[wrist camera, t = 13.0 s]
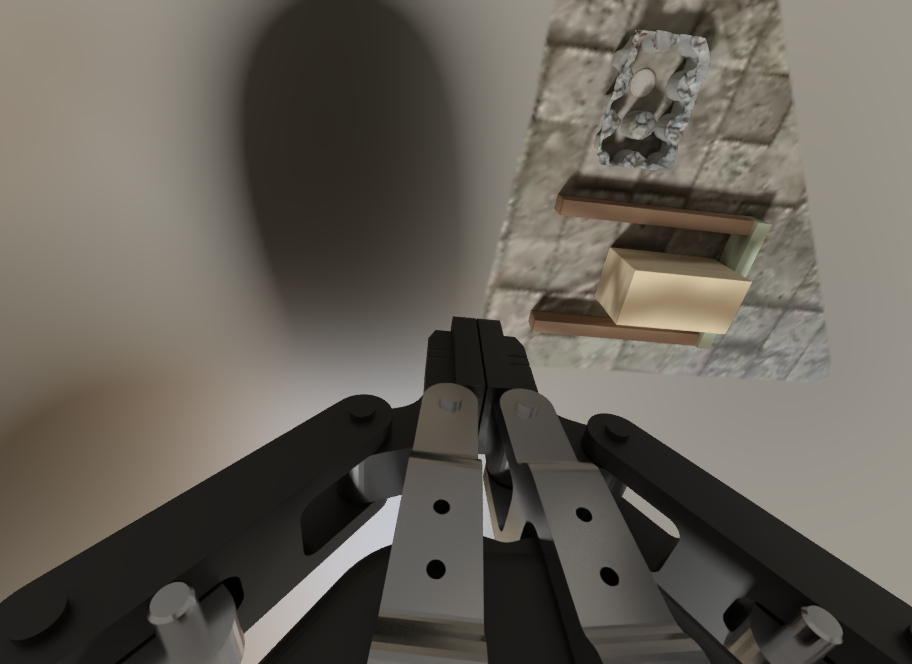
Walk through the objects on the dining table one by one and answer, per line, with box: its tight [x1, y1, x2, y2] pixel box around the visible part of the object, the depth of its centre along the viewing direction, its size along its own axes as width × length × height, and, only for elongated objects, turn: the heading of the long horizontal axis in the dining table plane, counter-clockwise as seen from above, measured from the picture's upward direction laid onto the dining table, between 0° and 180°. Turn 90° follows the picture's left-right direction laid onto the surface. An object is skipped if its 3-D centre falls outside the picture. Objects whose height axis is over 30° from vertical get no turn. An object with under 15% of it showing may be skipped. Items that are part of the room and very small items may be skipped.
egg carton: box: [594, 29, 710, 170], centre depth 36 cm, size 11×8×4 cm
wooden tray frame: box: [529, 194, 772, 349], centre depth 45 cm, size 15×22×3 cm
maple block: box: [595, 247, 752, 334], centre depth 44 cm, size 6×12×7 cm, turn 84°
